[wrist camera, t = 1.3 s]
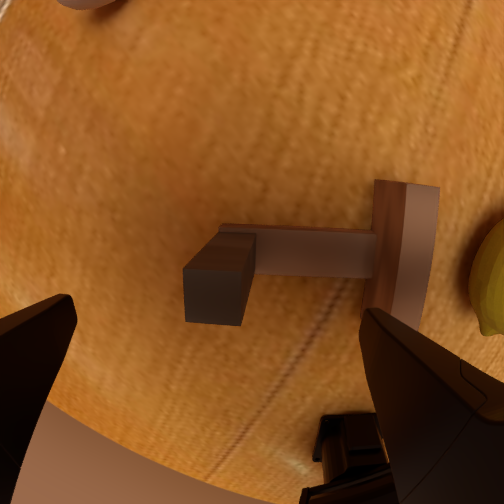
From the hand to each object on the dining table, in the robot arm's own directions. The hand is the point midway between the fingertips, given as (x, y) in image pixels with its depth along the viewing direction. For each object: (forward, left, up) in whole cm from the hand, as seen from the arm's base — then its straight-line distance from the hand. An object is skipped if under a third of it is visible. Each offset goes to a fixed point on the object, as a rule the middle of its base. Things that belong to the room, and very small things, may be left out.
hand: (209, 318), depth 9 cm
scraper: (-1, -4, -13) cm, 14 cm away
